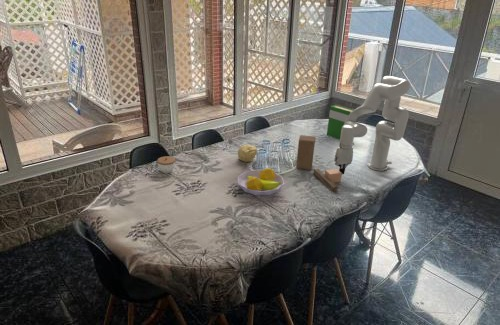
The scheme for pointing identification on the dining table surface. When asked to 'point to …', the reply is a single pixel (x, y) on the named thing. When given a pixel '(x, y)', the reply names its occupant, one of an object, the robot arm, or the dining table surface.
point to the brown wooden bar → (326, 180)
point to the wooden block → (305, 152)
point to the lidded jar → (166, 164)
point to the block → (333, 175)
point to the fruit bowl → (260, 182)
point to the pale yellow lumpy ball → (247, 153)
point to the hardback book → (337, 120)
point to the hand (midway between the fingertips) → (341, 173)
